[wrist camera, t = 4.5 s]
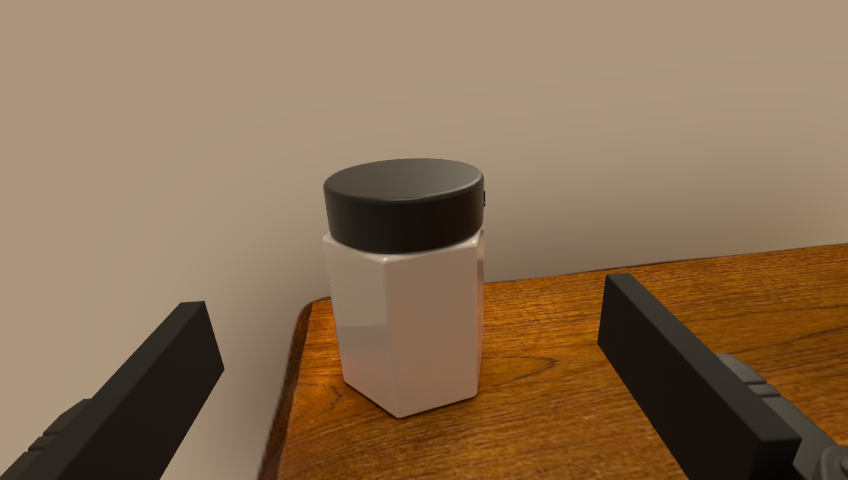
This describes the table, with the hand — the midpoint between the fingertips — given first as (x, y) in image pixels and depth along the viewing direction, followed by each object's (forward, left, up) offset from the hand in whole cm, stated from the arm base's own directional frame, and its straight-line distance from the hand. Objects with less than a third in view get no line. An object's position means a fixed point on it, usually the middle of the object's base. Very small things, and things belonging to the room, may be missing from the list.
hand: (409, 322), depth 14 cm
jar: (+2, +9, -10) cm, 13 cm away
